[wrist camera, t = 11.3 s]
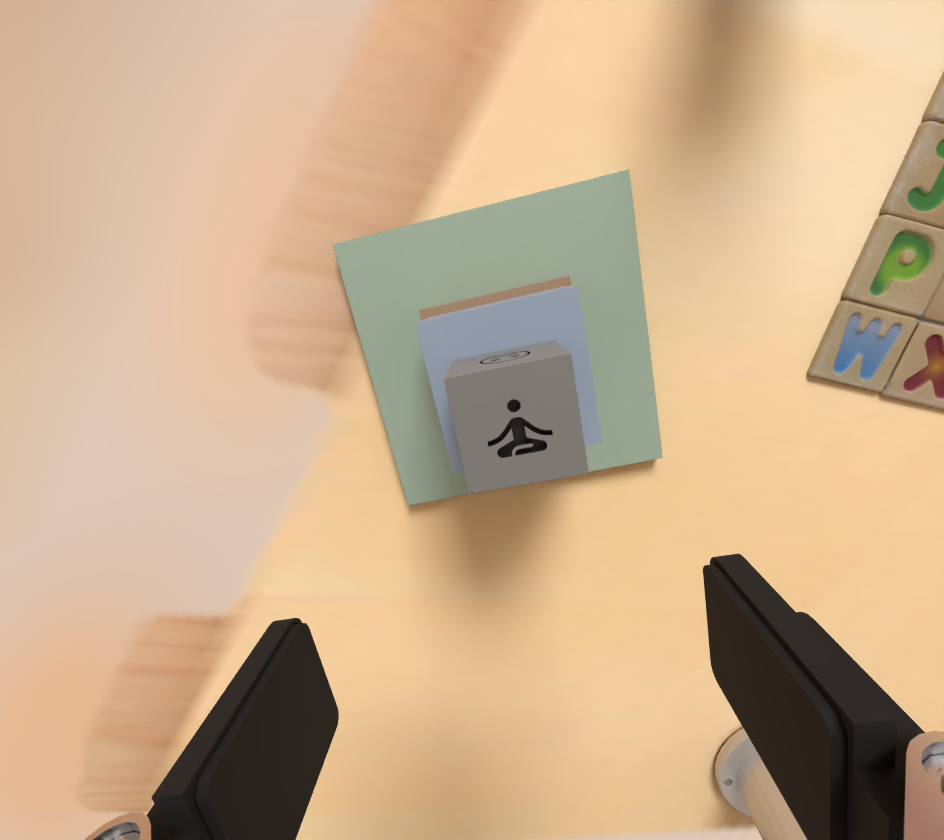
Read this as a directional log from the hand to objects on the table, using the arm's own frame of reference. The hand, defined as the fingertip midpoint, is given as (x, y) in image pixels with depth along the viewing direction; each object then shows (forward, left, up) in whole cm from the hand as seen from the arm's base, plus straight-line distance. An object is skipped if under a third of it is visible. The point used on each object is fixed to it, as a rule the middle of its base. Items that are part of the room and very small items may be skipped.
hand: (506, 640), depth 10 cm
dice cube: (-1, -2, -14) cm, 14 cm away
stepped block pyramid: (-1, -3, -25) cm, 25 cm away
